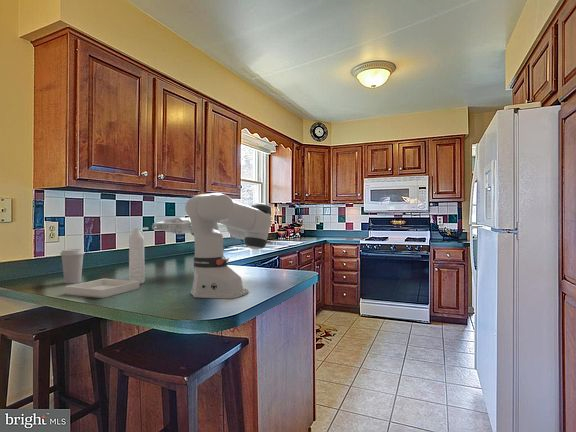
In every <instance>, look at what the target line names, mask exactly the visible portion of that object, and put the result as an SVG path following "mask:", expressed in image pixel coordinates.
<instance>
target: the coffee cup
mask: <svg viewBox="0 0 576 432" xmlns="http://www.w3.org/2000/svg"><path fill="white" fill-rule="evenodd" d="M85 253H86V252H85V251H84V250H83V249H82V248H72V249H71V248H70V249H62V250H61V252H60V254H59V256H61V263H62V272H63V282H64V284H67V285H68V284H69V285H70V284H71V285H73V284H79V283H82V276H83V275H82V274H83V273H82V272H83V260H84V255H85Z"/></svg>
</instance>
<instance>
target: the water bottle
mask: <svg viewBox="0 0 576 432" xmlns="http://www.w3.org/2000/svg"><path fill="white" fill-rule="evenodd" d="M142 230H143V231H144V230H146V231H147V230H149V227H146V226H145V227H142ZM128 249H129V250H128V264H129V265H128V267H129V269H128V273H129V274H128V277H129V279H128V280H129V281H139V285H140V284H144V283H145V282H146V280H145V279H146V278H145V275H146V273H145V272H146V271H145V270H146V269H145V263H146V262H145V258H146V257H145V237H144V236H143V234H142V233H141V231H140V227H134V228H133V232H132V233H131V235H130V236H129V238H128Z"/></svg>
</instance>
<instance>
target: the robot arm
mask: <svg viewBox="0 0 576 432" xmlns="http://www.w3.org/2000/svg"><path fill="white" fill-rule="evenodd" d="M184 209H185V213H186V215H187V216H188V217H184V216H181V217H174V218H171V219H165V220H164V221H163V220H162V221H156V222H154V223H152V226H151V229H152V230H153V231H159V232H161V231H163V232H165V233H171V234H176V235H186V234H191V235H192V236H193V237H194V256H193V269H194V270H193V271H194V273H193V274H194V275H193V282H192V287H191V289H190V290H191V291H190V294H191V295H192V297H193V298H202V299H204V298H205V299H224V300H225V299H228V300H231V299H236V298H240V297H243V296H245V295H247V294H248V293H249V289H248V288H245V287H244V286H243V281H242V278H241V276H240V275H239V274H238V273H237V272H236V271H235V270H233V269H232V268H231V267H230V266H228V262H229V261H230V258H226V257H225V255H224V236H223V234H222V232H221V231H220V228H219V225H218V224H221V225H224V226H226V229H227V232H228V234H229V235H230V236H231V237H232V238H234V239H239V240H244V244H245V246H246V247H248V248H249V249H251V250H261V249H264V248H265V247H266V246H267V243H268V241H267V240H268V236H269V232H270V228H271V216H272V209H271V207H270V206H269V205H268V204H265V203H263V202H258V203H254V204H251V206H250V205H247V204H244V203H241V202H238V201H236V200H234V199H232V198H231V197H230V196H229V195H227V194H223V193H220V192H214V193H201V194H196V195H194V196H192V197H191V198H189V199H188V200H187V201H186V203H185V208H184ZM246 293H247V294H246ZM242 295H243V296H242Z"/></svg>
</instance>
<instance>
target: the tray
mask: <svg viewBox="0 0 576 432" xmlns="http://www.w3.org/2000/svg"><path fill="white" fill-rule="evenodd" d="M135 290H140V284H139V281H129V279H128V280H126V279H116V278H99V279H95V280H90V281H84V282H79V283H73V284H71V285H70V284H69V285H66V286H64V294H65V295H71V296H81V297H88V298H98V299H105V298H108V297H112V296H115V295H120V294H124V293H127V292H132V291H135Z"/></svg>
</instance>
